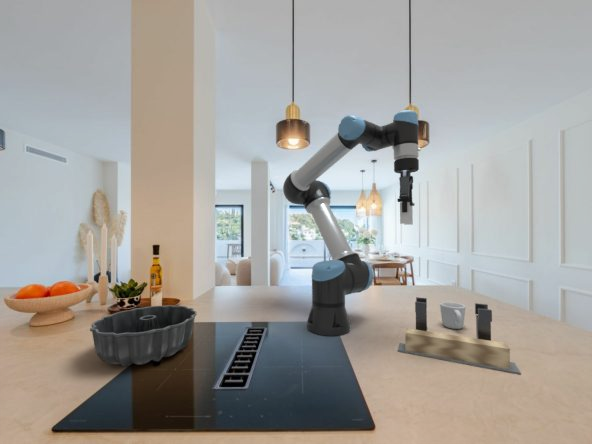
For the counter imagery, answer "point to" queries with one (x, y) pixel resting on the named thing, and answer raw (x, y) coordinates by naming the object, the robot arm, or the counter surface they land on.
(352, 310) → the counter surface
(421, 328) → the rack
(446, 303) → the cup
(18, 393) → the counter surface
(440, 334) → the rail
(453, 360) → the grey base plate
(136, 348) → the bundt pan
